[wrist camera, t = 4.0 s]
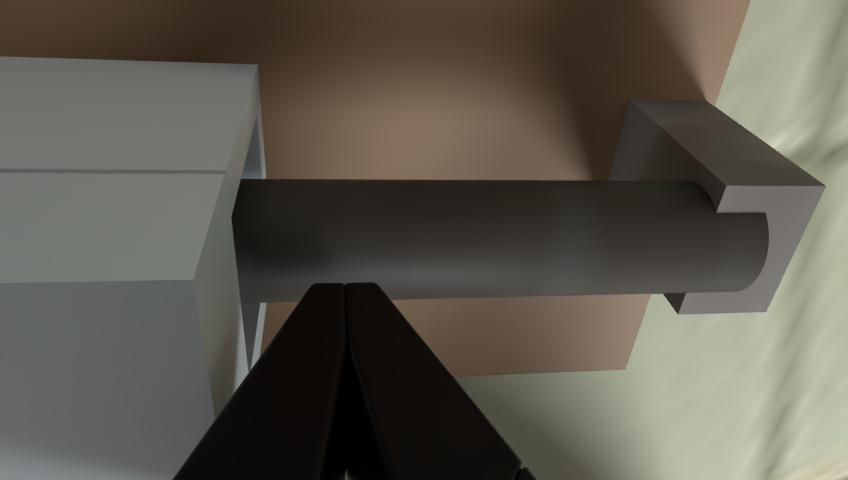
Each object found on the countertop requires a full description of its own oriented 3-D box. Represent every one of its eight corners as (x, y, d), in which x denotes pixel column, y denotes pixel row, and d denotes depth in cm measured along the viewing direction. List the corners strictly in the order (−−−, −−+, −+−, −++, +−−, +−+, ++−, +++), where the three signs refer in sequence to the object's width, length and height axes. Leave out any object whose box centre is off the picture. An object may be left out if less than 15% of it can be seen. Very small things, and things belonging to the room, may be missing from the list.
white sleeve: (257, 64, 10) (192, 280, 5) (272, 260, 12) (235, 544, 7) (-18, 55, 9) (-377, 289, 5) (46, 264, 11) (-155, 574, 7)
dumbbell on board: (778, -197, 10) (1249, -225, 5) (610, 343, 17) (740, 578, 12) (-531, -331, 8) (-2381, -678, 2) (-134, 369, 14) (-408, 688, 9)
